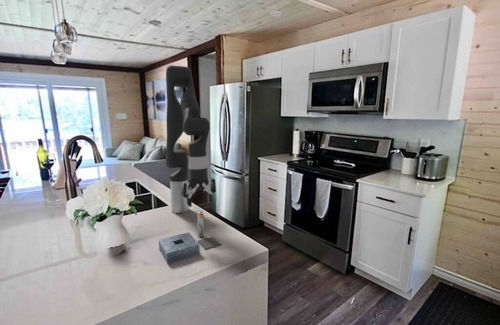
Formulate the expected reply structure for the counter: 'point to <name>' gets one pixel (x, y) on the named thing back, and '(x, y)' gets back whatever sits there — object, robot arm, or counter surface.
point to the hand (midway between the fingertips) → (199, 204)
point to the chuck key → (200, 223)
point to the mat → (209, 242)
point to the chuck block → (178, 247)
